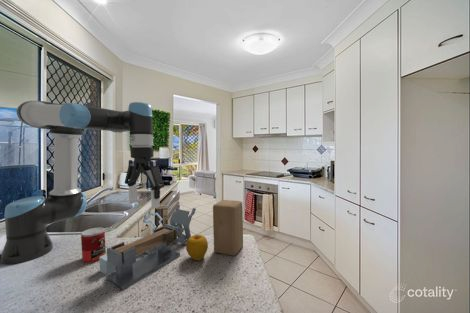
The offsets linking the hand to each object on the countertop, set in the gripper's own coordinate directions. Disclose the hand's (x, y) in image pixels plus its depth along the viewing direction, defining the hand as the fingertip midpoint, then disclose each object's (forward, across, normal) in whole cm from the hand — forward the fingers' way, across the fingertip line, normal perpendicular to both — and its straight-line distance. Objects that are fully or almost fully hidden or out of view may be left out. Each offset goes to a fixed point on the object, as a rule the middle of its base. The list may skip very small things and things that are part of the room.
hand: (143, 205), depth 73 cm
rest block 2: (+23, -10, +8) cm, 26 cm away
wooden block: (+23, +19, +26) cm, 40 cm away
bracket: (+23, -6, +21) cm, 32 cm away
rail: (+16, 0, 0) cm, 16 cm away
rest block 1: (+23, -10, -8) cm, 26 cm away
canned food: (+23, -24, -7) cm, 34 cm away
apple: (+23, +12, +14) cm, 30 cm away
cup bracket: (+23, 0, 0) cm, 23 cm away
